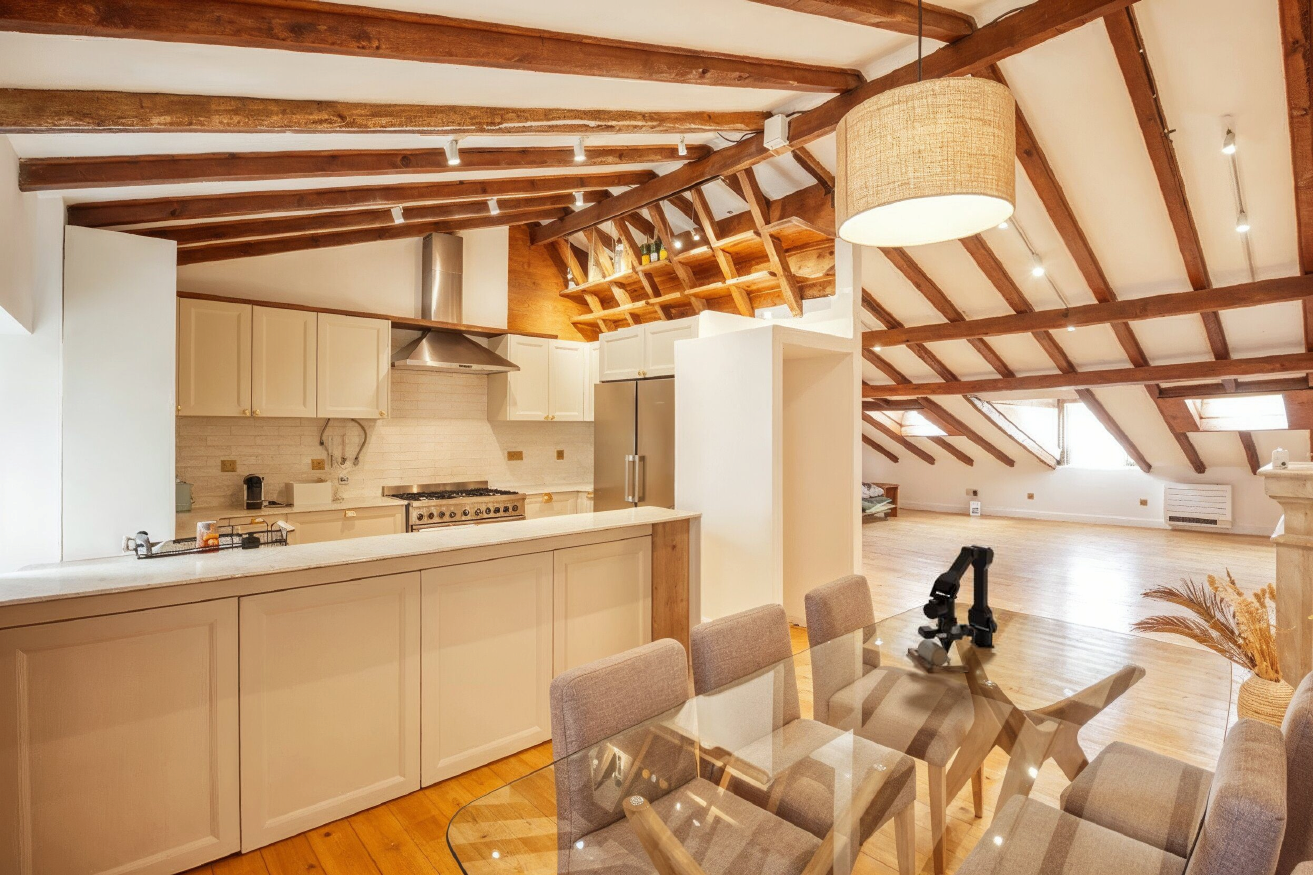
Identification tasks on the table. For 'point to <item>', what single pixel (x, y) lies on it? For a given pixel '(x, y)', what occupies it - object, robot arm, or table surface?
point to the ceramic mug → (932, 652)
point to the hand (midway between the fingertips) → (946, 653)
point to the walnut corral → (935, 669)
